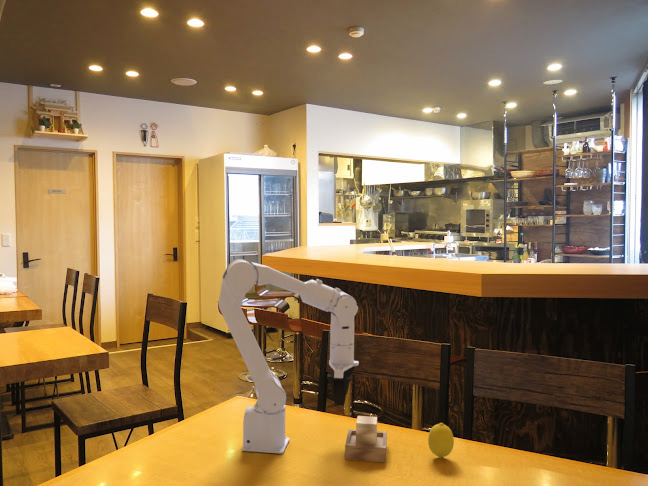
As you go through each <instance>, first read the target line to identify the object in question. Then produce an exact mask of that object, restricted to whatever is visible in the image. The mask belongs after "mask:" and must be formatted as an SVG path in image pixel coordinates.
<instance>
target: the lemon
mask: <svg viewBox="0 0 648 486" xmlns="http://www.w3.org/2000/svg"><path fill="white" fill-rule="evenodd" d="M427 441H428V442H427V443H428V446H429V447H428V448H429V450H430V451H431V453H432V454H434V455H435V456H436V457H438V458H439V459H443V458H444V457H447V456H449V455H450V454H451V453H452V451H453V449H454V441H455V440H454V434H453V431H452V429H451V428H450V427H449V426H447V425H446V424H444V423H443V422H439V423H437V424H435V425H433V426H432V427H431V429H430V431H429V433H428V437H427Z"/></svg>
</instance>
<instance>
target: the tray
mask: <svg viewBox="0 0 648 486" xmlns="http://www.w3.org/2000/svg"><path fill="white" fill-rule="evenodd" d="M387 434H388V431H382V430H381V431H378V430H377V441H376V446H373V445H359V444H356V429H351V428H349V429H348V430H347V436H346V440H345V445H344V460H351V461H359V462H360V461H361V462H374V463H376V462H377V463H387V447H388V445H387V443H388V442H387V441H388V440H387V439H388V436H387Z"/></svg>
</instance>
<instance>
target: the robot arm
mask: <svg viewBox="0 0 648 486" xmlns="http://www.w3.org/2000/svg"><path fill="white" fill-rule="evenodd" d="M255 284H256V285H257V287H258V286H265V285H269V284H270V285H272V286H275V287H278V288H281V289H283V290H286V291H288V292H291V293H294V294H296V295H299V297H300V299H301V301H302V303H304V304H307V305H309V306H311V307H314V308H316V309H319V310H321V311H324V312H330V333H329V336H330V337H329V338H330V339H329V360H328V366H330V368H331V369H332V371H333V373H328V374H327V375H326V376H327V377H326V378H327V381H328V383H329V385H330V388H331V392H332V396H333V402H334V405H335V406H342V407H343V406H345V404H346V400H347V399H346V397H347V395H348V392H349V387H350V384H351V383H350V382H351V381H352V379H353V376H352V375H353V371H354V370H355V368H356V367H357V366H359V364H360V362H359V360H355V316H357V315H356V314H357V313H358V311H359V305H357V303H358V302H357V301H356V299H355V298H354V296H351V295H350V294H348V293H346V292H344V291H343V290H341V288H338V287H335V288H333V287H331V286H330V285H328V284H327V285H326V284H324V283H323V280H321V279H319V278H316V280H314V279H310V280H307V281H302V280H299V279H297V278H295V277H293V276H290V275H288V274H286V273H284V272H281V271H279V270H277V269H275V268H273V267H270V266H268V265H265V264H260V263H257V262H253V261H252V262H251V263H250V262H249V261H248V260H246V259H243V258H238V259H234V260H232V261H231V262H230V263H229V264H228V265H227V266H226V269H225V271H223V274H222V279H221V286H220V291H219V295H218V301H217V303H218V308H219V312H220V313H221V315H222V317H223V319H224V322H225V324H226V325H227V327H228V330H229V332H230V335H231V336H232V338H233V340H234V343H235V344H236V347H237V349H238V351H239V353H240V355H241V358H242V360H243V362H244V364H245V366H246V368H247V370H248V373H249V375H250V376H251V377H250V378H251V379H252V381H253V383H254V392H255V395H256V396H257V400H256V402H255V404H254V405H253V406H247V407H246V408H245V411H244V415H243V421H242V423H243V424H242V428H243V429H242V433H243V434H242V449H241V450H242V452H255V453H266V454H267V453H268V454H269V453H270V454H280V455H281V454H284V452H285V451H286V448H287V446H288V444H289V442H290V437H286V402H287V394H286V391H285V389H284V388H283V387H282V384H281V380H280V379H279V378H278V377H277V376H276V375H274V374H273V373H272V370H271V369H270V367H269V364H268V363H267V360H266V358H265V356H264V354H263V351H262V350H261V348H260V346H259V343H258V341H257V339H256V337H255V335H254V332H253V331H252V327H251V326H250V324H249V322H248V320H247V318H246V315H245V314H244V313H245V312H244V311H243V309H242V304H243V301H244V299H245V296H246V294H247V293H248V292H249V291H250V290H251V289H252V288H253V286H254V285H255Z"/></svg>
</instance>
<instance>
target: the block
mask: <svg viewBox="0 0 648 486" xmlns="http://www.w3.org/2000/svg"><path fill="white" fill-rule="evenodd" d="M355 430H356V444H359V445H373V446H376V441H377V431H378V417H377V416H367V415H357V418H356V423H355Z"/></svg>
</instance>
